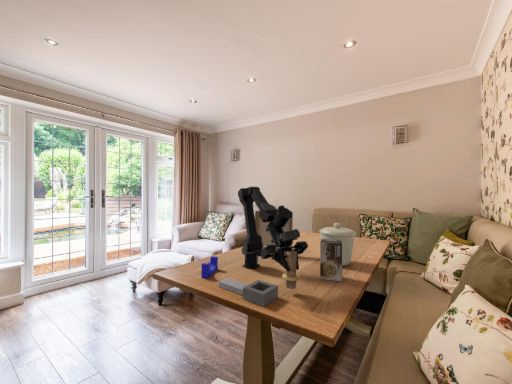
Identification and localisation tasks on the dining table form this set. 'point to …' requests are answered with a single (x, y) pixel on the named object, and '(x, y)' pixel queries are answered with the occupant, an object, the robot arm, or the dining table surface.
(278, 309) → the dining table surface
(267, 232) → the photo frame
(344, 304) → the dining table surface
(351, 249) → the canister
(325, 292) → the dining table surface
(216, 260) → the blue arched block
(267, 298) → the hitch block
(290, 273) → the walnut pin
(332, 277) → the coffee box
